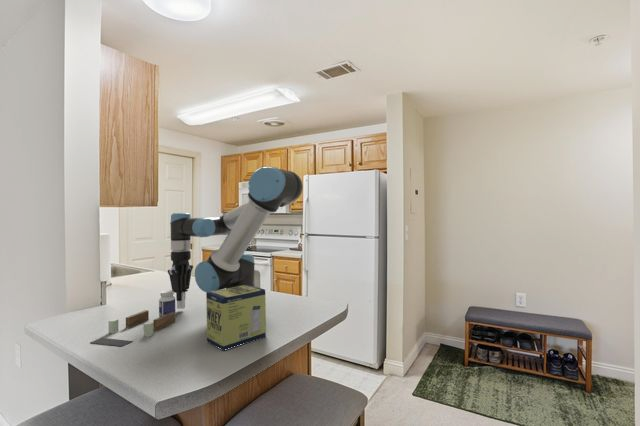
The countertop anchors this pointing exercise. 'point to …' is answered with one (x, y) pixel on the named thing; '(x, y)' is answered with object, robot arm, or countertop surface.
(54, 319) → the countertop surface
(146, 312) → the lane
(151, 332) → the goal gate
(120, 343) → the mat
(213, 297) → the protein box
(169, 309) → the pill bottle
